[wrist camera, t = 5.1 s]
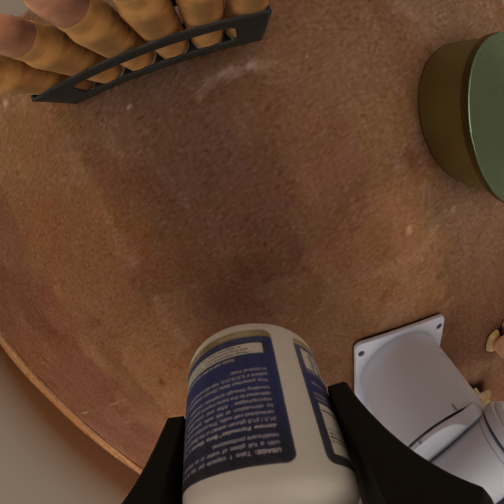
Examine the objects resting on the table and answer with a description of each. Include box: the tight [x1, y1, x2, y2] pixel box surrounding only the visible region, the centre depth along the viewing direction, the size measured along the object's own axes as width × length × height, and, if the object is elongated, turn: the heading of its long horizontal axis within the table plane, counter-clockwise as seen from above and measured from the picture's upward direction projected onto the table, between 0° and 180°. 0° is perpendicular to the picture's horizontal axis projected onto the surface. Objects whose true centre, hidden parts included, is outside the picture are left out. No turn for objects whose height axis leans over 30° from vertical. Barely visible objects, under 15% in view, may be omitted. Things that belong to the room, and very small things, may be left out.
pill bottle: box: [182, 323, 360, 504], centre depth 9 cm, size 5×5×10 cm
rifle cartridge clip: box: [0, 0, 272, 104], centre depth 9 cm, size 11×2×12 cm, turn 105°
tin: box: [419, 32, 504, 203], centre depth 14 cm, size 10×10×5 cm
